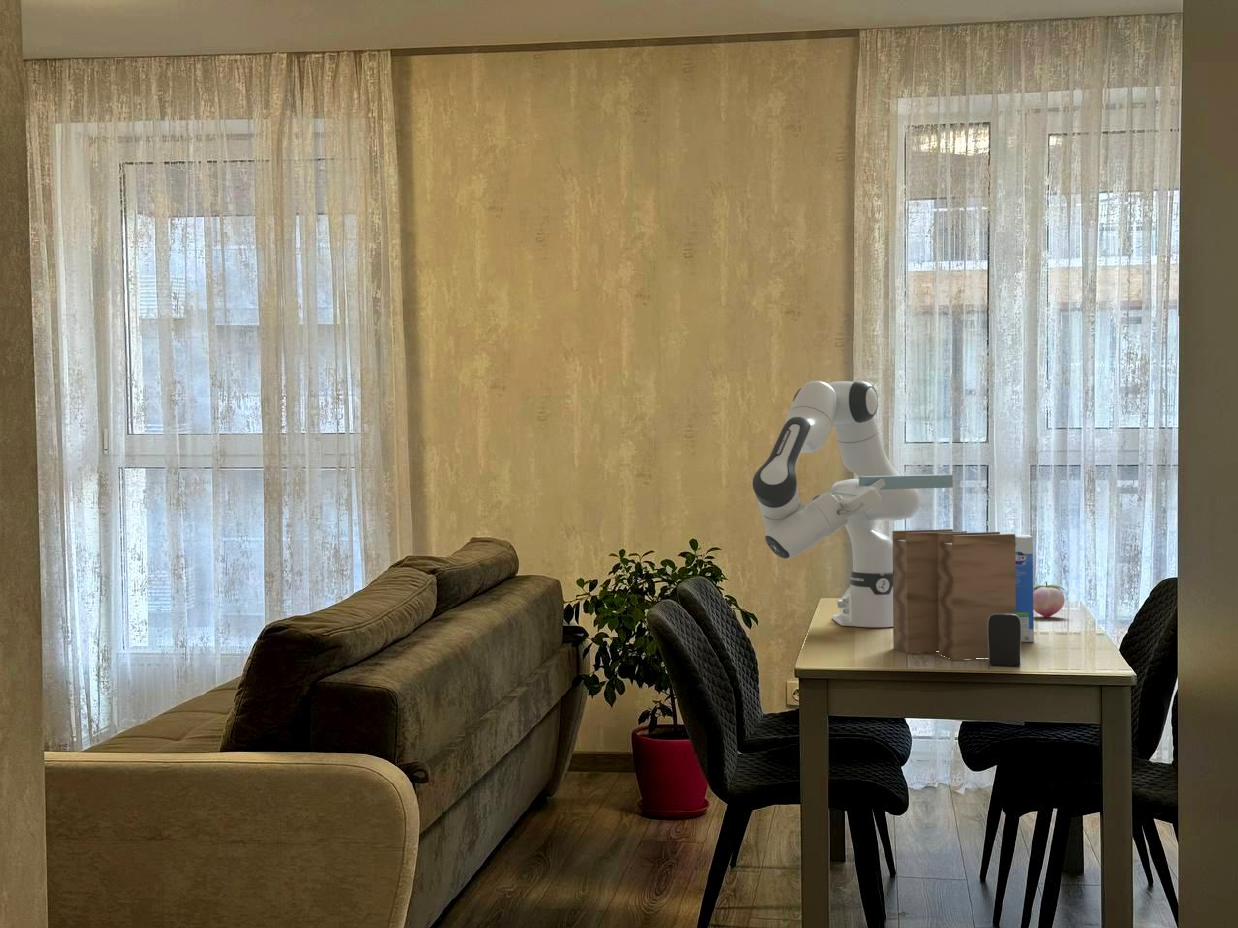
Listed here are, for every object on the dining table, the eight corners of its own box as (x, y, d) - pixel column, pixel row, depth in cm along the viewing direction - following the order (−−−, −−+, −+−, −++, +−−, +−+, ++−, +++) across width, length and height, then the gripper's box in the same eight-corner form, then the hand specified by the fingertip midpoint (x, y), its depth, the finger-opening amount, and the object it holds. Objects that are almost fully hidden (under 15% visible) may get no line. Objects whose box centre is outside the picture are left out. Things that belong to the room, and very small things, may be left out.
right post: (938, 655, 293) (937, 533, 292) (998, 652, 296) (997, 531, 295) (954, 660, 285) (953, 536, 285) (1016, 657, 288) (1015, 534, 288)
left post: (893, 648, 303) (892, 530, 302) (951, 645, 306) (950, 529, 305) (907, 653, 295) (906, 533, 295) (967, 650, 298) (966, 531, 298)
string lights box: (1030, 638, 316) (1029, 534, 315) (1034, 643, 308) (1034, 536, 308) (975, 637, 318) (974, 534, 318) (978, 642, 311) (977, 536, 310)
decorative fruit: (1056, 615, 355) (1056, 579, 355) (1068, 619, 347) (1068, 582, 347) (1023, 615, 355) (1023, 579, 354) (1034, 619, 346) (1034, 583, 346)
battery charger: (1020, 663, 280) (1020, 612, 280) (1021, 667, 277) (1021, 614, 277) (987, 663, 282) (986, 611, 282) (988, 666, 278) (987, 613, 278)
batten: (858, 489, 298) (858, 476, 298) (946, 487, 303) (945, 474, 302) (864, 489, 295) (864, 476, 295) (952, 487, 299) (952, 474, 299)
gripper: (840, 502, 284) (890, 470, 287) (809, 498, 304) (855, 468, 307) (854, 526, 285) (904, 494, 287) (821, 520, 305) (868, 490, 307)
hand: (879, 480), depth 297 cm, fingers closed on batten, 3 cm apart
